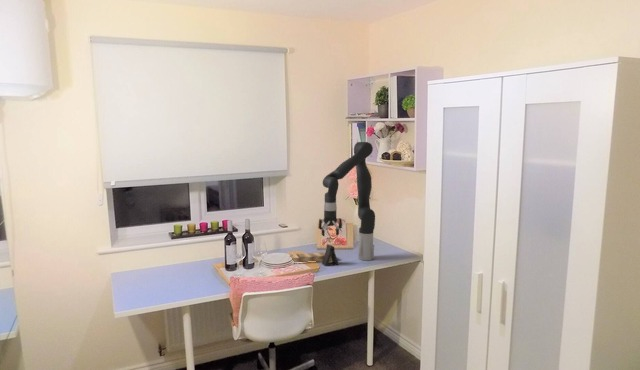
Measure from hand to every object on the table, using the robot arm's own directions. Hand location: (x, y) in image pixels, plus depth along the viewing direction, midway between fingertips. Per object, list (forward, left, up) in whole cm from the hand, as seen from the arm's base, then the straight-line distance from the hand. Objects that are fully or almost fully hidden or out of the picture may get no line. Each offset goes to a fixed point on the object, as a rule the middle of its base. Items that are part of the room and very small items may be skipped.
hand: (330, 235), depth 274 cm
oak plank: (+9, -9, -18) cm, 22 cm away
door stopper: (0, 0, -18) cm, 18 cm away
